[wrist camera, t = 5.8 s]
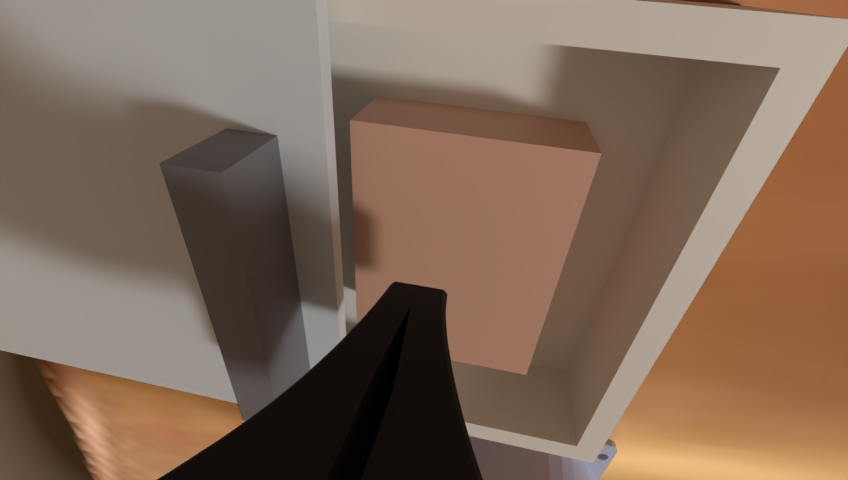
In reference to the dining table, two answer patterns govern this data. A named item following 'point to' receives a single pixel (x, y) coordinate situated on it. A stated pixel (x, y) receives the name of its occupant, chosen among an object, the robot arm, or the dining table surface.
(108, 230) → the lid
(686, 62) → the box
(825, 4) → the dining table surface
